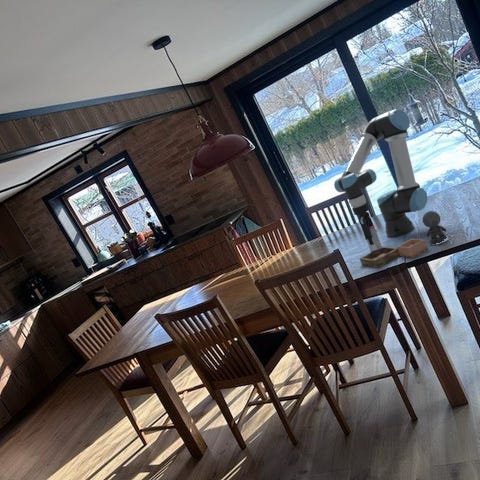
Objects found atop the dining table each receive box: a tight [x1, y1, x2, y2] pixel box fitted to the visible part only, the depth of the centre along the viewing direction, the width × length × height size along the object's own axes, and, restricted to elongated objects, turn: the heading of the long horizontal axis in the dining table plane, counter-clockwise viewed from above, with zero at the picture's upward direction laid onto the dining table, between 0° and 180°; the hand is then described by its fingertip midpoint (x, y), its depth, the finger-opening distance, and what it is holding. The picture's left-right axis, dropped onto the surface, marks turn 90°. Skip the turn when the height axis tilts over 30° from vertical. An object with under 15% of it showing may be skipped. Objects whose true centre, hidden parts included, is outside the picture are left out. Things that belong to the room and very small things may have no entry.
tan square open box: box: [396, 238, 428, 259], centre depth 208 cm, size 9×9×5 cm
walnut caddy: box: [359, 245, 400, 268], centre depth 218 cm, size 14×14×4 cm
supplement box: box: [366, 224, 383, 253], centre depth 216 cm, size 6×6×12 cm
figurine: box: [422, 210, 447, 244], centre depth 207 cm, size 9×10×15 cm
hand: (375, 247), depth 217 cm, fingers closed on supplement box, 7 cm apart
